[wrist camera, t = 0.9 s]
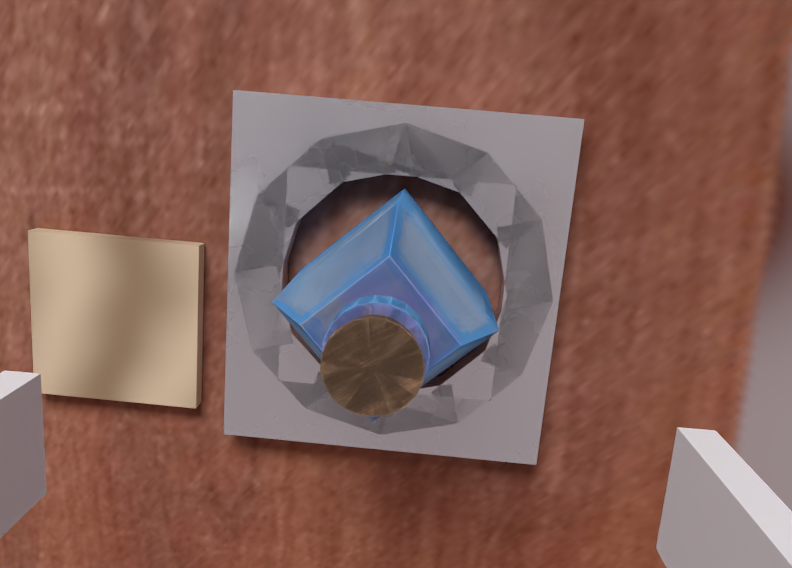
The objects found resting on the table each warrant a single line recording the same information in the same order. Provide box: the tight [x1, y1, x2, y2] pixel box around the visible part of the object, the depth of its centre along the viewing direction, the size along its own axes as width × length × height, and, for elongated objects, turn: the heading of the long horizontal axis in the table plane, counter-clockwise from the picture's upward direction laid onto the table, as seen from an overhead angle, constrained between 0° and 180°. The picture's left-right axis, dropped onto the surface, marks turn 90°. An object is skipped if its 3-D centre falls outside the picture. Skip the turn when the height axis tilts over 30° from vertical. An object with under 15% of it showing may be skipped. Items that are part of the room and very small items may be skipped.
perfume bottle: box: [272, 188, 499, 422], centre depth 27 cm, size 6×6×12 cm
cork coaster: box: [28, 228, 205, 408], centre depth 33 cm, size 8×8×1 cm
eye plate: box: [224, 90, 584, 465], centre depth 32 cm, size 15×16×1 cm
